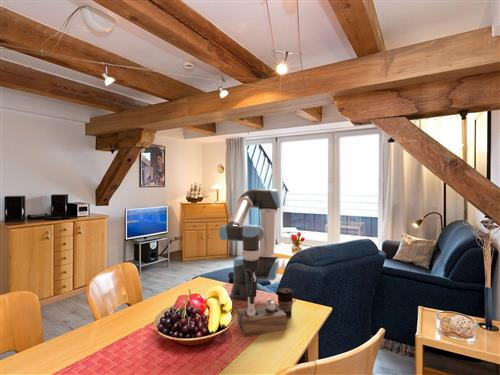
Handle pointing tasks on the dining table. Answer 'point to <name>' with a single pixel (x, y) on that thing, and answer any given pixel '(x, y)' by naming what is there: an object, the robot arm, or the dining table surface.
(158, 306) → the dining table surface
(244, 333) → the socket block
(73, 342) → the dining table surface
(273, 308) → the peg back
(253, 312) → the peg front
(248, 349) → the dining table surface
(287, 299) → the coffee cup
